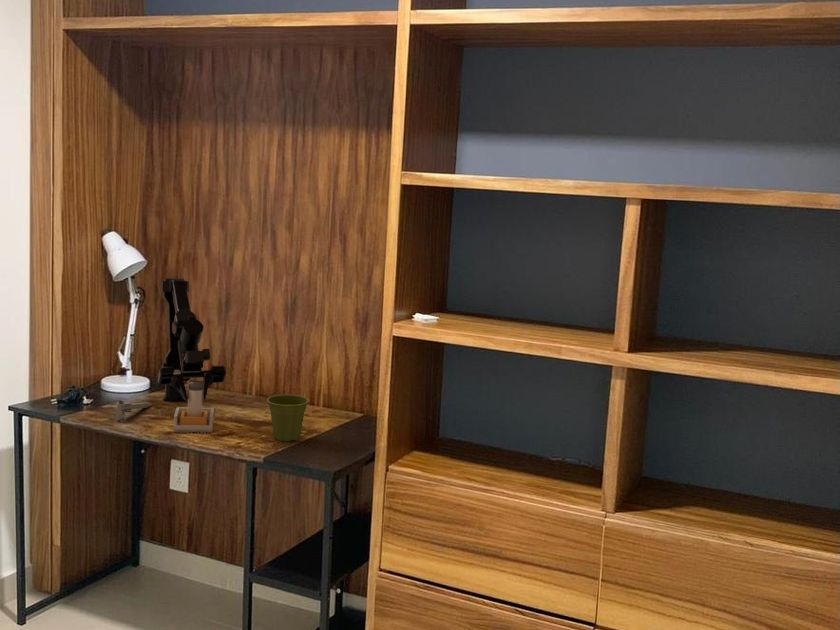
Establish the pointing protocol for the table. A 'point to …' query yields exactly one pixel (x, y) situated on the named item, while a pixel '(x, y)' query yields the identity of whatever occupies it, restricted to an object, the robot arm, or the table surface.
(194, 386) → the plug
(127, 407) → the caliper
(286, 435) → the plant pot
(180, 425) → the socket box
